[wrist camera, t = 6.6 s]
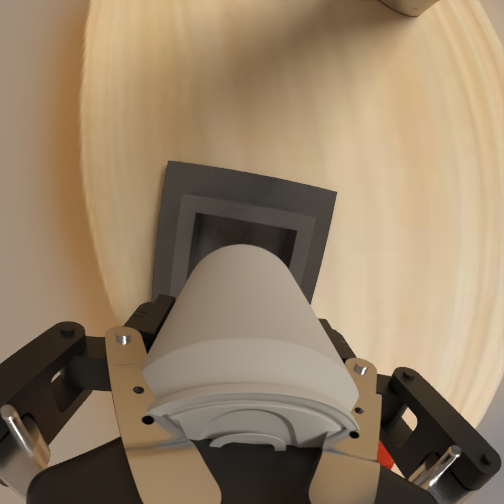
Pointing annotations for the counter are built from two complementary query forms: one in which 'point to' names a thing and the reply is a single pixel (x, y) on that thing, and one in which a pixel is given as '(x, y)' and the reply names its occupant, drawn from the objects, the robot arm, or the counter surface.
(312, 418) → the beverage can
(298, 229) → the grey square socket holder
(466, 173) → the counter surface
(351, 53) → the counter surface
